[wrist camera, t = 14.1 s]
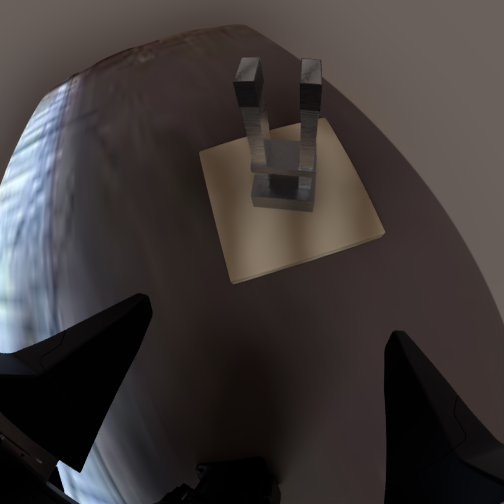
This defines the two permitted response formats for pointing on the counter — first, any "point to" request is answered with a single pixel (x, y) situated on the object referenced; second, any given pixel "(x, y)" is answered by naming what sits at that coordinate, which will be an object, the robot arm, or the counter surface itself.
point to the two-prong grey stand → (280, 151)
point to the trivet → (286, 221)
